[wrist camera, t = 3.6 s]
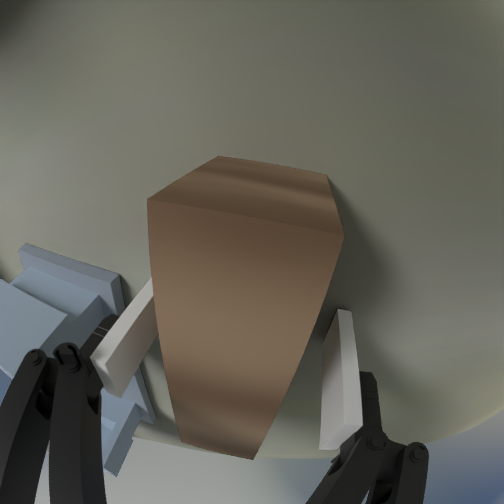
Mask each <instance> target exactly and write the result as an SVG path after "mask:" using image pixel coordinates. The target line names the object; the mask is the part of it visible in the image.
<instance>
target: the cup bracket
mask: <svg viewBox="0 0 504 504" xmlns="http://www.w3.org/2000/svg"><path fill="white" fill-rule="evenodd" d="M18 252H19V255H20V259H21V262H22V265H23V268H24V271H23V272H22V273H21V274H20V275H19V276H18V277H16V278H15V279H14V280H13V281H12V282H11V283H10V284H9V283H7V282H6V281H4V280H2V279H0V369H1V370H2V371H4V372H5V373H6V374H7V375H8V376H9V377H11V378H12V379H13V378H14V376H15V374H16V372H17V370H18V368H19V366H20V364H21V362H22V360H23V359H24V357H25V355H26V354H27V353H28V352H29V351H30V350H32V349H41V350H43V351H44V352H45V354H46V355H47V357H50V358H55V357H54V355H53V351H54V349H55V348H56V347H57V346H58V345H60V344H62V343H66V342H70V343H74V344H75V345H76V346H77V347H78V348H79V349H80V348H81V347H82V345H83V344H84V343H85V342H86V340H87V339H88V338H89V336H90V335H91V334H92V333H93V331H94V330H95V329H96V328H97V327H98V325H99V324H100V323H101V321H102V320H103V319H104V318H105V317H107V316H109V315H110V314H115V315H118V316H121V315H122V313H123V312H124V311H125V310H126V309H125V304H124V299H123V294H122V289H121V283H120V277H119V274H117V273H114V272H111V271H107V270H104V269H101V268H97V267H94V266H91V265H88V264H85V263H82V262H79V261H76V260H73V259H70V258H67V257H64V256H61V255H58V254H55V253H52V252H49V251H46V250H43V249H41V248H38V247H35V246H32V245H29V244H27V243H26V244H24V245H23V246H22V247H20V248H19V249H18ZM101 396H102V407H101V438H102V461H103V471H105V472H107V473H109V474H111V475H113V476H115V477H117V475H118V473H119V471H120V469H121V466H122V464H123V462H124V460H125V458H126V455H127V453H128V451H129V449H130V447H131V444H132V442H133V440H132V439H131V438H132V436H133V434H134V432H135V430H136V428H137V426H138V424H139V422H140V420H141V421H144V422H146V423H149V424H152V425H154V423H155V421H156V416H155V413H154V410H153V407H152V404H151V401H150V398H149V395H148V392H147V389H146V386H145V383H144V380H143V376H142V373H141V370H140V366H139V367H138V369H137V371H136V372H135V374H134V376H133V378H132V379H131V381H130V383H129V385H128V386H127V388H126V390H125V392H124V394H123V395H122V397H121V399H120V398H117V397H115V396H113V395H111V394H109V393H107V392H106V390H105V388H104V387H103V388H102V390H101Z"/></svg>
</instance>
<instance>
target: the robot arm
mask: <svg viewBox="0 0 504 504" xmlns="http://www.w3.org/2000/svg"><path fill="white" fill-rule="evenodd" d="M157 335H158V327H157V320H156V312H155V304H154V295H153V286H152V277H151V278H150V280H149V281H148V282H147V283H146V285H145V286H144V287H143V288H142V289H141V291H140V292H139V293H138V294H137V296H136V297H135V298H134V299H133V301H132V302H131V303H130V305H129V306H128V307H127V308H126V310H125V311H124V312H123V313H122V315H121V316H118V315H115V314H110V315H109V316H107V317H105V318H104V319H103V320H102V321H101V323H100V324H99V325H98V327H97V328H96V329H95V330H94V331H93V333H92V334H91V335H90V336H89V338H88V339H87V340H86V342H85V343H84V344H83V345H82V347H81V348H80V349H79V348H78V347H77V346H76V345H75V344H74V343H70V342H66V343H62V344H60V345H58V346H57V347H56V348H55V349H54V351H53V355H54V357H55V358H50V357H47V355H46V354H45V352H44V351H43V350H41V349H32V350H30V351H29V352H28V353H27V354H26V355H25V357H24V359H23V360H22V362H21V364H20V366H19V368H18V370H17V372H16V374H15V376H14V378H13V380H12V382H11V384H10V386H9V388H8V391H7V393H6V395H5V397H4V399H3V402H2V404H1V406H0V504H34V502H35V497H36V491H37V487H38V482H39V478H40V473H41V469H42V465H43V461H44V458H45V454H46V450H47V447H48V444H49V491H50V504H107V502H106V494H105V485H104V475H103V461H102V438H101V407H102V396H101V390H102V388H103V387H104V388H105V390H106V392H107V393H109V394H111V395H113V396H115V397H117V398H120V399H121V397H122V395H123V394H124V392H125V390H126V388H127V386H128V385H129V383H130V381H131V379H132V378H133V376H134V374H135V372H136V371H137V369H138V367H139V365H140V364H141V362H142V360H143V359H144V357H145V355H146V353H147V352H148V350H149V348H150V347H151V345H152V343H153V342H154V340H155V338H156V336H157ZM377 392H378V389H377V381H376V380H375V378H374V376H373V374H372V373H371V372H361V371H359V368H358V358H357V350H356V342H355V334H354V327H353V320H352V313H351V311H346V310H341V309H337V312H336V314H335V317H334V319H333V321H332V324H331V326H330V328H329V331H328V333H327V335H326V337H325V340H324V342H323V344H322V406H321V427H320V444H319V449H322V450H336V449H338V448H339V447H340V454H339V455H338V456H336V457H335V458H334V459H333V460H332V461H331V463H333V462H334V463H333V464H332V466H331V467H330V469H329V470H328V472H327V474H326V475H325V477H324V478H323V480H322V481H321V483H320V484H319V486H318V487H317V488H316V490H315V491H314V493H313V494H312V496H311V497H310V498H309V500H308V501H307V502H306V504H361V503H362V501H363V499H364V497H365V495H366V494H367V492H368V490H369V488H370V490H369V494H368V497H367V501H366V504H423V499H424V493H425V487H426V479H427V470H428V460H429V453H428V450H427V448H426V446H425V445H423V444H422V443H419V442H413V443H411V444H409V445H407V446H406V445H403V444H399V443H396V442H393V441H391V440H389V439H388V437H387V436H386V434H385V433H384V432H383V431H382V426H381V415H380V406H379V401H378V399H379V397H378V393H377ZM49 440H50V443H49Z"/></svg>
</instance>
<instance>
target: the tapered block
mask: <svg viewBox="0 0 504 504" xmlns="http://www.w3.org/2000/svg"><path fill="white" fill-rule="evenodd" d="M147 211H148V235H149V251H150V264H151V276H152V286H153V295H154V304H155V312H156V320H157V327H158V334H159V340H160V346H161V352H162V358H163V364H164V369H165V374H166V379H167V384H168V389H169V394H170V398H171V403H172V407H173V412H174V416H175V420H176V424H177V428H178V432H179V435H180V439H181V442H183V443H186V444H189V445H193V446H196V447H200V448H203V449H207V450H211V451H214V452H218V453H223V454H227V455H231V456H236V457H241V458H246V459H251V460H253V459H254V457H255V455H256V454H257V452H258V450H259V448H260V446H261V444H262V442H263V440H264V438H265V436H266V434H267V432H268V430H269V428H270V426H271V424H272V422H273V420H274V418H275V416H276V414H277V412H278V410H279V408H280V406H281V403H282V401H283V399H284V397H285V395H286V393H287V390H288V388H289V386H290V384H291V381H292V379H293V377H294V375H295V372H296V370H297V368H298V365H299V363H300V360H301V358H302V356H303V353H304V351H305V348H306V346H307V343H308V341H309V338H310V336H311V333H312V331H313V328H314V325H315V323H316V320H317V318H318V315H319V312H320V309H321V307H322V304H323V301H324V298H325V296H326V293H327V290H328V287H329V284H330V281H331V278H332V275H333V272H334V269H335V266H336V263H337V260H338V257H339V254H340V251H341V247H342V244H343V241H344V238H345V235H344V231H343V228H342V224H341V221H340V217H339V214H338V210H337V207H336V204H335V201H334V197H333V194H332V191H331V188H330V185H329V182H328V179H327V176H326V175H324V174H320V173H315V172H310V171H306V170H301V169H296V168H290V167H285V166H280V165H274V164H268V163H262V162H256V161H250V160H243V159H237V158H229V157H222V156H217V157H216V158H214V159H212V160H210V161H209V162H207V163H205V164H203V165H202V166H200V167H198V168H197V169H195V170H193V171H191V172H190V173H188V174H186V175H185V176H183V177H181V178H180V179H178V180H177V181H175V182H173V183H172V184H170V185H169V186H167V187H165V188H164V189H162V190H161V191H159V192H158V193H156V194H155V195H153V196H151V197H150V198H148V199H147Z"/></svg>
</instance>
